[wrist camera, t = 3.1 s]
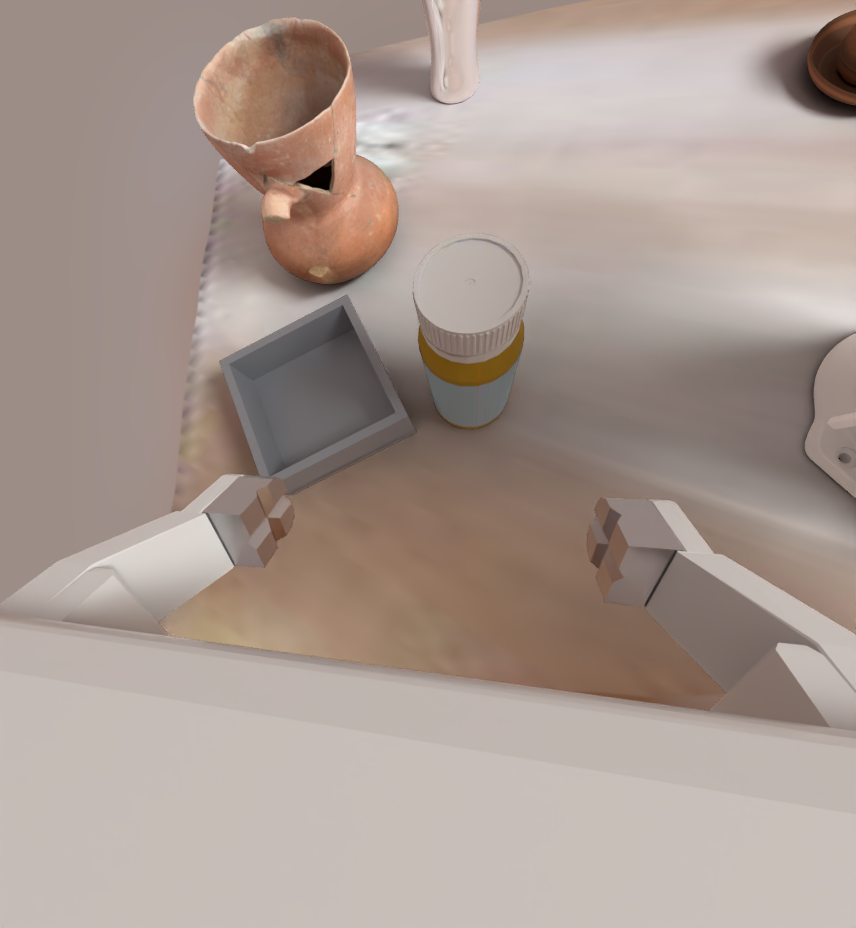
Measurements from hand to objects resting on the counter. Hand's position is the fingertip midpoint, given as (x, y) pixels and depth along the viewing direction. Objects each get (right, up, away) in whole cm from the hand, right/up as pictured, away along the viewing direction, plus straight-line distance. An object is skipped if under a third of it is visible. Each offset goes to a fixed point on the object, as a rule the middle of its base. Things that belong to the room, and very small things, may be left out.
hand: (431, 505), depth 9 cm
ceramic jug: (-10, +27, +29) cm, 41 cm away
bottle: (+4, +8, +23) cm, 25 cm away
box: (-10, +7, +25) cm, 28 cm away
